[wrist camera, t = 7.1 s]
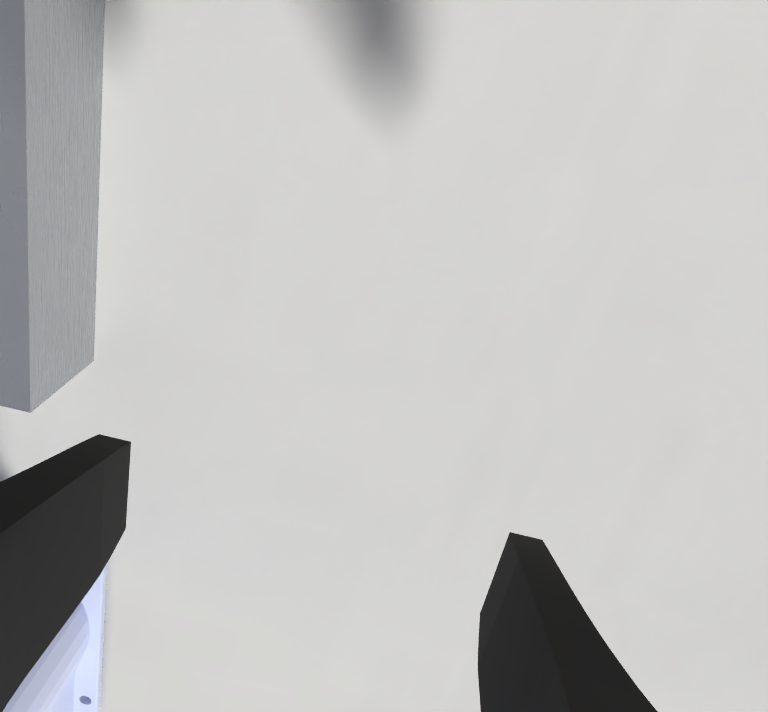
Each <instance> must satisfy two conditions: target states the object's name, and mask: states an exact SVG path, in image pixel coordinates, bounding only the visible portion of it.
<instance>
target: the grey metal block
mask: <svg viewBox="0 0 768 712" xmlns="http://www.w3.org/2000/svg"><path fill="white" fill-rule="evenodd" d="M104 11H105V0H0V406H5V407H9V408H13V409H17V410H22V411H26V412H30V413H31V412H32V411H33V410H34V409H35V408H37V407H38V406H39V405H40V404H41V403H43V402H44V401H45V400H46V399H48V398H49V397H50V396H51V395H52V394H54V393H55V392H56V391H57V390H58V389H60V388H61V387H62V386H63V385H65V384H66V383H67V382H68V381H69V380H71V379H72V378H73V377H74V376H75V375H77V374H78V373H79V372H80V371H82V370H83V369H84V368H85V367H86V366H88V365H89V364H90V363H91V362H92V361H94V334H95V302H96V270H97V237H98V205H99V173H100V140H101V108H102V76H103V43H104Z"/></svg>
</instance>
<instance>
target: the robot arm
mask: <svg viewBox="0 0 768 712" xmlns="http://www.w3.org/2000/svg"><path fill="white" fill-rule="evenodd" d="M130 447H131V442H129V441H125V440H121V439H116V438H112V437H108V436H104V435H100V434H99V435H97V436H94V437H92V438H90V439H88V440H85V441H83V442H81V443H79V444H77V445H75V446H73V447H71V448H69V449H67V450H65V451H63V452H61V453H59V454H57V455H55V456H53V457H51V458H49V459H47V460H45V461H43V462H41V463H39V464H37V465H35V466H33V467H31V468H29V469H27V470H24V471H22V472H20V473H18V474H16V475H14V476H12V477H10V478H8V479H6V480H4V481H2V482H0V712H100V702H101V681H102V660H103V639H104V617H105V596H106V575H107V562H108V560H109V558H110V557H111V555H112V553H113V551H114V549H115V547H116V546H117V544H118V542H119V540H120V538H121V536H122V534H123V533H124V531H125V529H126V513H127V497H128V480H129V464H130ZM478 677H479V691H480V705H481V712H657V711H656V709H655V708H654V707H653V706H652V705H651V703H650V702H649V701H648V700H647V699H646V697H645V696H644V695H643V693H642V692H641V691H640V690H639V688H638V687H637V686H636V684H635V683H634V682H633V680H632V679H631V678H630V676H629V675H628V674H627V672H626V671H625V669H624V668H623V667H622V665H621V664H620V663H619V661H618V660H617V658H616V657H615V656H614V654H613V653H612V651H611V650H610V649H609V647H608V646H607V644H606V643H605V641H604V640H603V638H602V637H601V635H600V634H599V632H598V631H597V629H596V628H595V626H594V625H593V623H592V621H591V620H590V618H589V617H588V615H587V614H586V612H585V611H584V609H583V607H582V606H581V604H580V602H579V601H578V599H577V598H576V596H575V594H574V593H573V591H572V589H571V588H570V586H569V584H568V583H567V581H566V579H565V577H564V576H563V574H562V572H561V571H560V569H559V567H558V566H557V564H556V562H555V561H554V559H553V557H552V555H551V554H550V552H549V550H548V549H547V547H546V545H545V544H544V542H543V540H540V539H536V538H532V537H528V536H523V535H519V534H515V533H511V532H510V533H509V536H508V539H507V542H506V544H505V547H504V550H503V553H502V555H501V558H500V561H499V564H498V566H497V569H496V572H495V574H494V577H493V580H492V583H491V585H490V588H489V591H488V594H487V596H486V599H485V602H484V605H483V607H482V610H481V613H480V627H479V647H478Z"/></svg>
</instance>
